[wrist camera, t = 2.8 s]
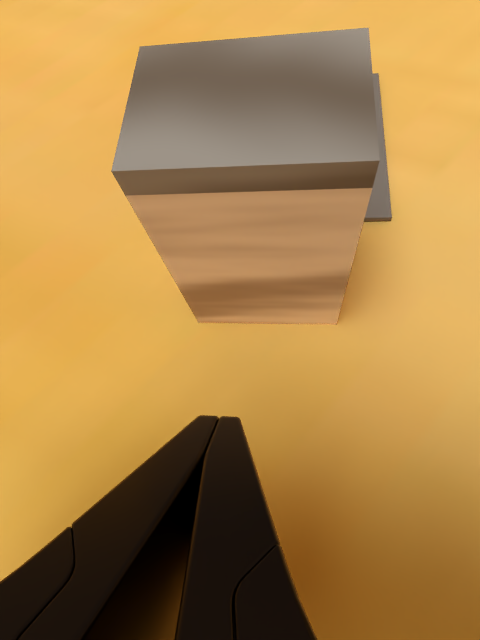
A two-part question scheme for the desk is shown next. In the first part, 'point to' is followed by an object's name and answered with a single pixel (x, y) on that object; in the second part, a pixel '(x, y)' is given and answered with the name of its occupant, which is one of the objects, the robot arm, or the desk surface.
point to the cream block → (253, 169)
